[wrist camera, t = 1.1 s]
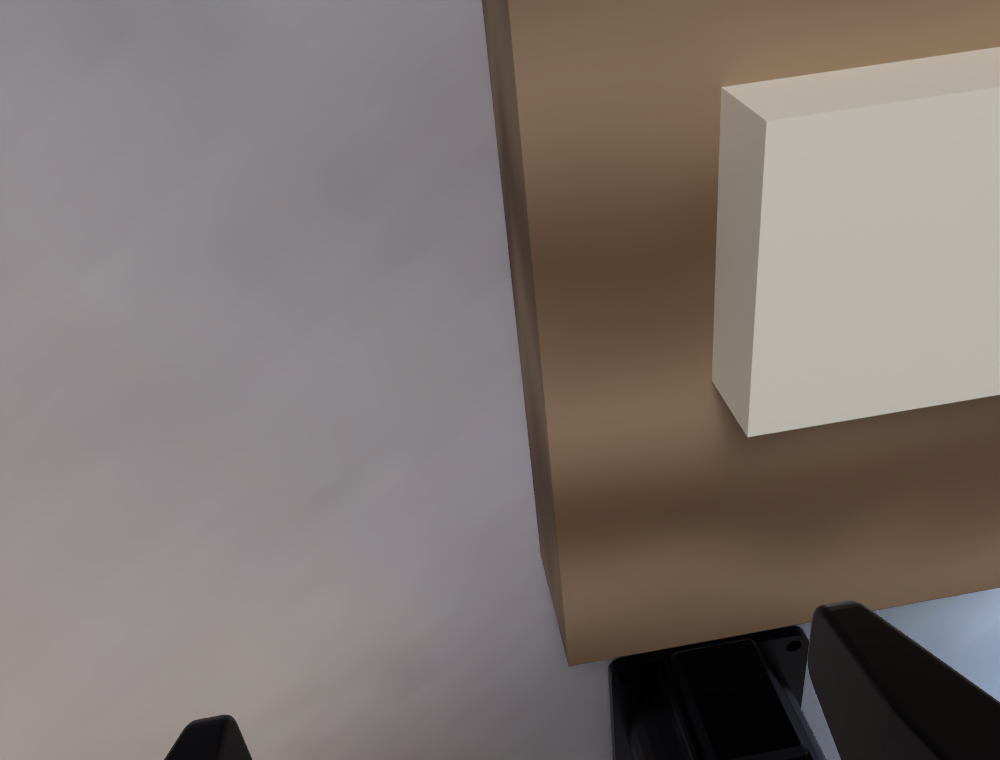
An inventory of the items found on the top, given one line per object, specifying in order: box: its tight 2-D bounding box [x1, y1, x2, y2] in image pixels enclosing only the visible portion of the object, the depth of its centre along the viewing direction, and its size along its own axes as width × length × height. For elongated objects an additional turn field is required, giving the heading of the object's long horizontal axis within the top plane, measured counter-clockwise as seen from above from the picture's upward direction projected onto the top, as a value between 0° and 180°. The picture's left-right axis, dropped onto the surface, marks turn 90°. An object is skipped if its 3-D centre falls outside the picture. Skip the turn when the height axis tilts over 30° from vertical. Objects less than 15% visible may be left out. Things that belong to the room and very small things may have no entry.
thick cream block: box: [712, 47, 1000, 437], centre depth 16 cm, size 6×9×2 cm, turn 96°
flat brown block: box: [482, 0, 1000, 666], centre depth 19 cm, size 22×14×4 cm, turn 6°
